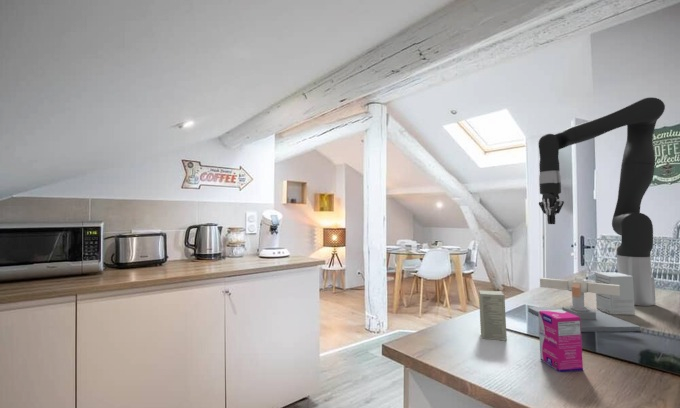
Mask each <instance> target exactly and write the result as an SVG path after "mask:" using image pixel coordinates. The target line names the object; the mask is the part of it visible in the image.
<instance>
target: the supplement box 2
mask: <svg viewBox="0 0 680 408" xmlns="http://www.w3.org/2000/svg"><path fill="white" fill-rule="evenodd" d="M594 279H595V281H594V283H603V284H614V285H619V286H620V296H618V295H609V294H599V293H595V297H596V298H595V300H596V301H595V302H596V304H595V305H596V309H598V310H599V311H601V312H603V313H606V314H607V313H608V315H611V316H613V315H635V314H636V312H635V311H636V310H635V305H634V289H633V276H630V275H626V274H621V273H618V272H615V271H614V272H612V271H611V272H594Z"/></svg>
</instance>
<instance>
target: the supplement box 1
mask: <svg viewBox="0 0 680 408" xmlns="http://www.w3.org/2000/svg"><path fill="white" fill-rule="evenodd" d="M538 314H539V316H538V333H539V350H540V351H539V353H540V354H539V355H540V356H539V357H540V361H541V362H543V363H545V364H546V365H548V366H549V367H551V368H553V369H554V370H555V371H556V372H558V373H566V372H567V373H568V372H569V373H570V372H582V371H584V364H583V363H584V362H583V345H582V344H583V343H582V332H581V322H580V317H578V316H576V315H573V314H571V313H568V312H566V311H563V310H561V309H558V310H544V311H538Z"/></svg>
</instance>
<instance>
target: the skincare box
mask: <svg viewBox="0 0 680 408" xmlns="http://www.w3.org/2000/svg"><path fill="white" fill-rule="evenodd" d="M505 298H506V297H505V293H504V292H503V291H502V290H481V289H480V290H478V299H479V301H478V302H479V304H478V305H479V320H480V321H479V322H480V323H479V324H480V335H481V338H482V339H487V340H496V341H497V340H498V341H507V340H508V339H507V338H508V337H507V321H506V319H507V318H506V317H507V316H506V299H505Z"/></svg>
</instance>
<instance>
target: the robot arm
mask: <svg viewBox="0 0 680 408" xmlns="http://www.w3.org/2000/svg"><path fill="white" fill-rule="evenodd" d="M665 107H666V104H665V102H664V101H663V100H662V99H660V98H657V97H650V96H649V97H644V98H641V99H639V100H638V101H636V102H633V103H632V104H629V105H627V106H625V107H623V108H620V109H619V110H618V109H617V111H614V112H611V113H608V114H606V115H603V116H600V117H598V118H594V119H593V120H589V121H586V122H582V123H580V124H577V125H574V126H570V127H568V128H565V129H564V130H563V131H561V132H558V133H555V134H553V133H546V134H544V135H542V136H541V137H540V138H539V139H538V151H539V154H538V155H539V166H538V167H539V178H538V179H539V180H538V181H539V182H538V183H539V185H538V186H539V194H540V195H542V197H541V199H542V200H541V201H539V202H538V205H539V207H540V209H541V211H542V213H543V214H545V215H547V224H548V225H556V215H557V214H560V212H561V210H562V208H563V206H564V204H565V201H564V200H561V199H560V194H562V183H561V182H562V180H561V179H562V178H561V177H562V176H561V171H560V170H561V168H560V160H559V153H560V152H559V151H560V150H561V149H564V148H567V147H569V146H572V145H576V144H579V143H582V142H586V141H589V140H591V139H596V138H597V137H599V136H602V135H604V134H606V133H608V132H612V131H613V130H616V129H619V128H622V127H627V128H626V131H627V133H626V142H625V147H624V151H623V154H622V161H621V167H620V172H619V173H620V174H619V184H618V194H617V199H616V200H617V201H616V203H615V205H616V206H615V209H614V213H613V217H612V220H611V225H612V226H611V227H612V230H613V231H614V232H615V233H616V234H617V235H619V236H620V237H621V243H620V245H619V246H618V247H616V261H617V273H621V274H626V275H630V276H633V289H634V306H642V307H643V306H645V307H649V306H654V305H656V304H657V302H656V286H655V284H656V283H655V277H652V264H651V262H652V260H651V252H652V250H653V247H654V225H653V221H652V219H651V218H650V217H649V216H648V215H647V214H645V213H643V212H641V204H642V200H643V198H644V196H645V194H646V193H647V191H648V188H649V187H650V186H651V183H652V181H653V178H654V175H655V167H656V166H655V165H656V154H655V149H654V143H653V141H654V139H653V138H654V133H655V132H654V131H655V127H656V124H657V122H658V119H660V117H662V116H663V115H664V112H665V110H666V108H665Z"/></svg>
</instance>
